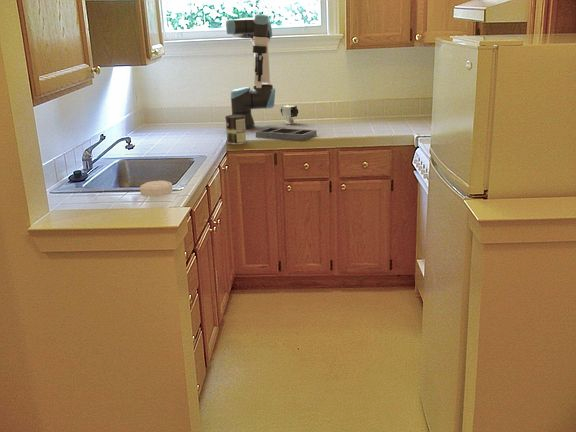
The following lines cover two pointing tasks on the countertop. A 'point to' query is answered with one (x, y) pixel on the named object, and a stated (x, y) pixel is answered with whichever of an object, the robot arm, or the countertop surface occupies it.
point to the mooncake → (156, 188)
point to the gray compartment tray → (286, 133)
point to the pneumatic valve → (289, 113)
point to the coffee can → (235, 129)
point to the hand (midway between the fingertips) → (257, 86)
